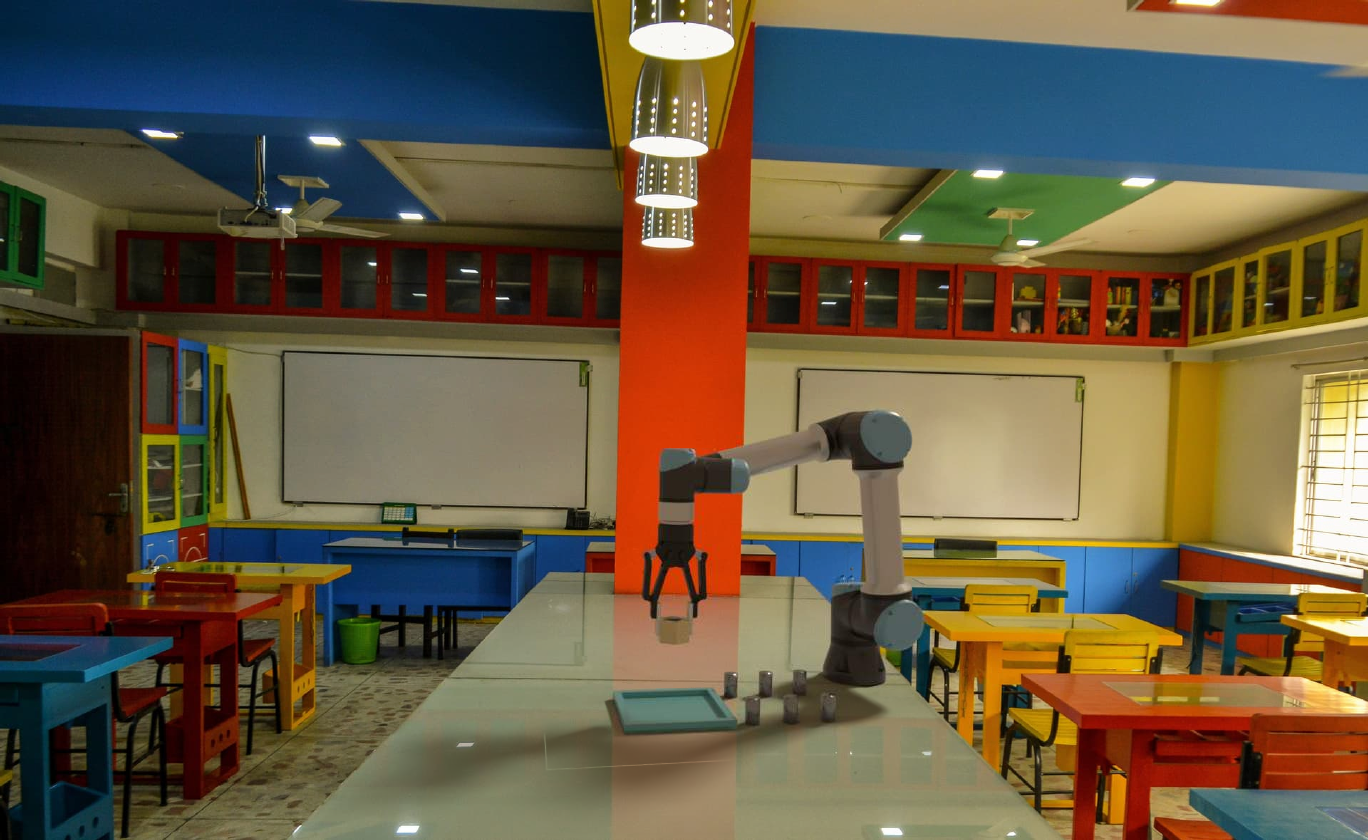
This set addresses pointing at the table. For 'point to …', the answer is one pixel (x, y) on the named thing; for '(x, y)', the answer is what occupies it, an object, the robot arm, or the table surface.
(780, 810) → the table surface
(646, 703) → the tray
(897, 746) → the table surface
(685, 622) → the nut
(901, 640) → the robot arm
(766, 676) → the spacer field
